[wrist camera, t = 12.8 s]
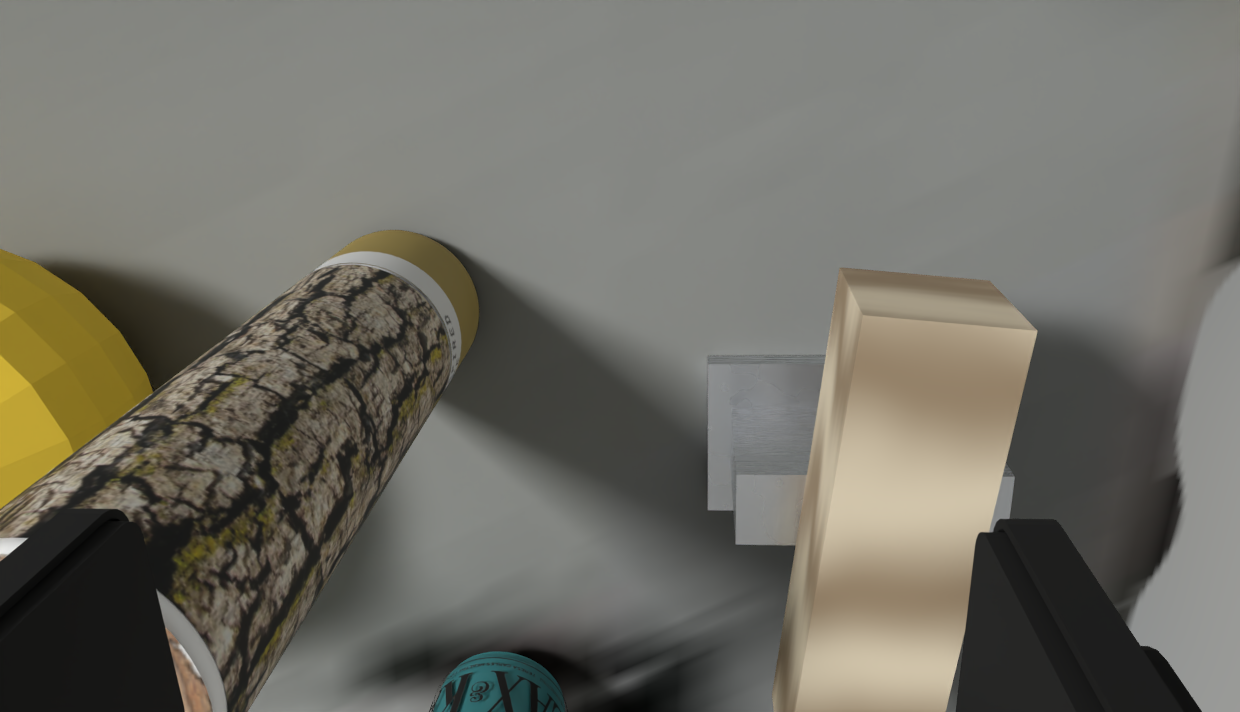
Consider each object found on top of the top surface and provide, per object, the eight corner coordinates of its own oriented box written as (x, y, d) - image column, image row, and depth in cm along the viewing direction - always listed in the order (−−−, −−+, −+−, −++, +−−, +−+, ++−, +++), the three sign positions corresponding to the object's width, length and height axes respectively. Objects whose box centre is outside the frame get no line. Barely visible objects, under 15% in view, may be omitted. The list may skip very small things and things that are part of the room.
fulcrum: (707, 355, 42) (709, 425, 35) (994, 355, 41) (1050, 426, 34) (707, 499, 44) (709, 588, 38) (977, 501, 43) (1026, 594, 37)
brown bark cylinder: (482, 230, 41) (196, 567, 17) (483, 380, 43) (233, 850, 20) (323, 220, 41) (-167, 537, 18) (333, 369, 44) (-85, 819, 20)
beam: (839, 267, 33) (862, 315, 28) (989, 280, 33) (1037, 330, 28) (771, 694, 40) (781, 789, 35) (896, 707, 39) (922, 805, 35)
